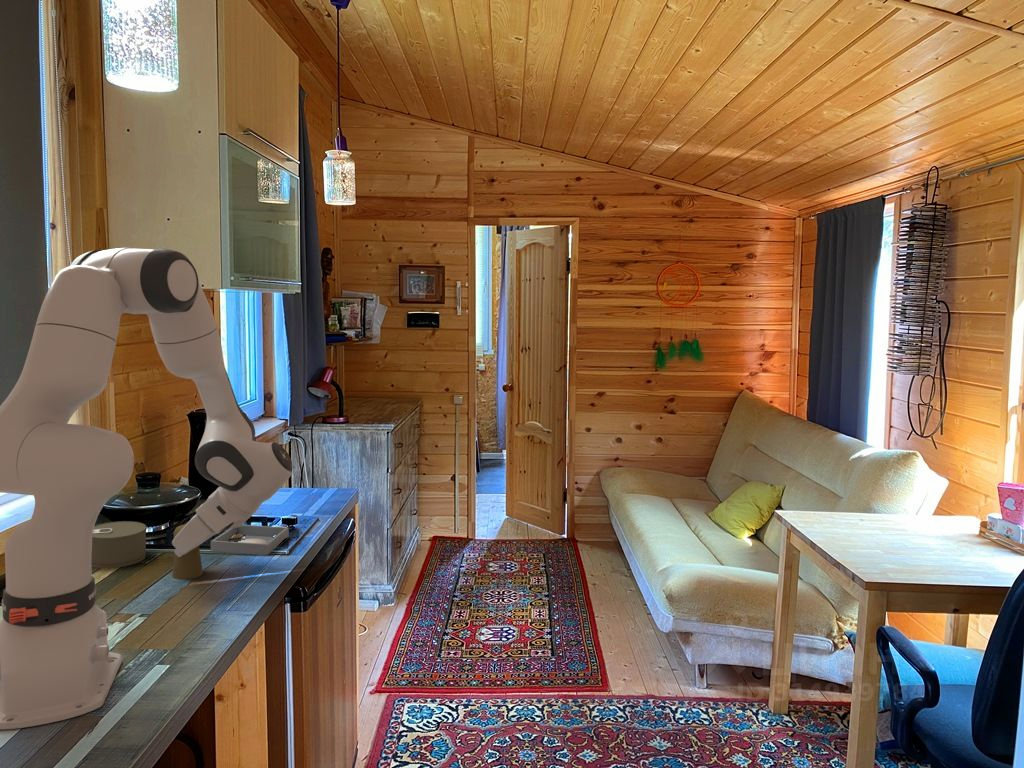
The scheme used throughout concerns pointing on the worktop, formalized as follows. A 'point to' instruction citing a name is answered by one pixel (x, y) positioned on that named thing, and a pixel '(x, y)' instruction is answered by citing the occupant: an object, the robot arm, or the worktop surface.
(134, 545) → the can
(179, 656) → the worktop surface
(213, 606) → the worktop surface
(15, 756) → the worktop surface
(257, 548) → the tray
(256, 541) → the resting spot
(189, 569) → the cork
